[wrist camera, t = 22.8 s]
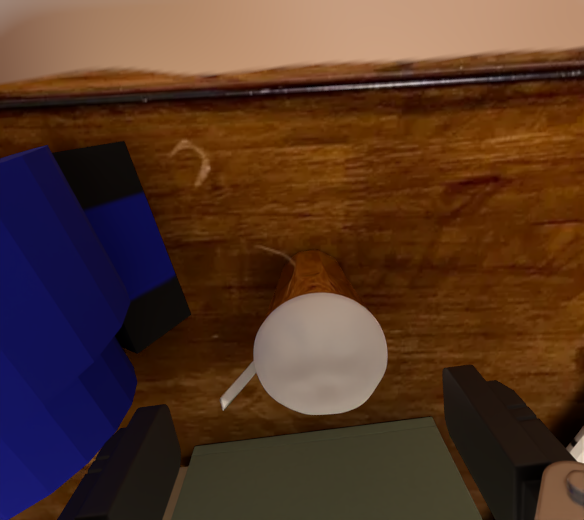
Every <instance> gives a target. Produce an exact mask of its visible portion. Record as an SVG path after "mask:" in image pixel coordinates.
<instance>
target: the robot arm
mask: <svg viewBox="0 0 584 520" xmlns="http://www.w3.org/2000/svg"><path fill="white" fill-rule="evenodd" d="M443 394H444V413H445V420H446V425H447V428H448V431H449V434H450V436H451V438H452V440H453V442H454V444H455V446H456V448H457V450H458V451H459V453H460V455H461V457H462V459H463V461H464V462H465V464H466V466H467V468H468V470H469V472H470V474H471V475H472V477H473V479H474V481H475V483H476V485H477V486H478V488H479V490H480V492H481V494H482V496H483V498H484V499H485V501H486V503H487V505H488V507H489V509H490V510H491V512H492V514H493V516H494V518H495V520H584V463H581V462H577V460H576V459H575V458H574V457H573V456H572V455H571V454H570V453H569V452H568V450H567V449H566V448H565V447H564V446H563V445H562V444H561V443H560V442H559V440H558V439H557V438H556V437H555V436H554V435H553V434H552V433H551V432H550V430H549V429H548V428H547V427H546V426H545V425H544V424H543V423H542V421H541V420H540V419H537V417H536V415H535V414H534V413H533V411H532V410H531V409H530V408H529V407H527V406H526V404H525V403H524V401H523V400H522V399H521V398H520V397H519V396H518V395H517V394H516V393H515V391H514V390H512V389H510V388H508V387H507V386H505V385H503V384H502V383H500V382H498V381H496V380H494V381H485V379H484V378H483V377H482V376H481V374H480V373H479V372H478V371H477V370H476V368H475V367H474V366H473V365H463V366H456V367H448V368H444V369H443ZM180 463H181V451H180V446H179V442H178V439H177V435H176V432H175V428H174V425H173V421H172V417H171V414H170V411H169V408H168V406H167V405H165V404H163V405H155V406H148V407H140V408H138V409H137V410H136V412H135V414H134V415H133V417H132V419H131V421H130V422H129V424H128V426H127V427H126V428H120V429H119V430H118V431H117V432H116V433H115V434H114V435H113V436H112V437H111V438H110V439H109V440H107V441H106V442H105V444H104V445H103V447H102V449H101V450H100V452H99V453H98V455H97V457H96V461H94V462H93V463H92V465H91V466H90V468H89V470H88V474H85V476H84V478H83V479H82V481H81V482H80V484H79V486H78V487H77V489H76V490H75V492H74V494H73V495H72V497H71V498H70V500H69V502H68V503H67V505H66V506H65V508H64V510H63V511H62V513H61V515H60V516H59V518H58V519H57V520H162V519H163V516H164V513H165V510H166V508H167V505H168V502H169V499H170V496H171V493H172V490H173V487H174V484H175V481H176V478H177V475H178V473H179V469H180Z"/></svg>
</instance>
